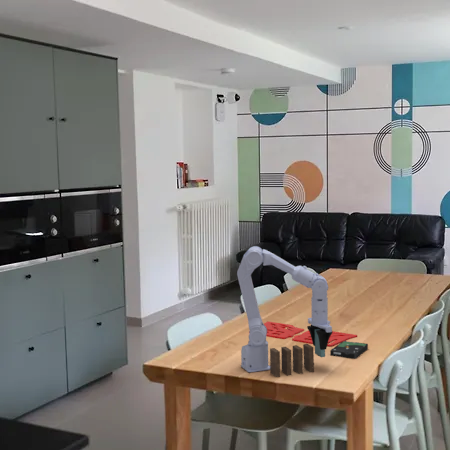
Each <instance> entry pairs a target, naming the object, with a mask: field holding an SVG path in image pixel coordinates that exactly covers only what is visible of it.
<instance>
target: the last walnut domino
mask: <svg viewBox="0 0 450 450" xmlns="http://www.w3.org/2000/svg"><path fill="white" fill-rule="evenodd" d="M280 353H281V350H278V349H277V348H275V347H272V348H271V347H270V348H269V358H270V359H269V363H270V364H269V366H270V370H269V371H270V375H272V376H273V377H275V378H279V377H281V354H280Z"/></svg>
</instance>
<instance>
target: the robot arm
mask: <svg viewBox="0 0 450 450" xmlns="http://www.w3.org/2000/svg"><path fill="white" fill-rule="evenodd" d="M261 265H263V266H274V267H275V268H277V269H279V270H281V271H282V272H285V273H287V274H289V275H290V276H291V279H292V280H293V281H295V282H296V283H299V284H300V285H302V287H303V286H304V287H305V288H307V289H310V290H311V300H310V301H311V317H307V324H309V325H308V326H307V327H306V328H307V331H309V332H310V335H311V338H312V342H313V344H312V345H313V347H315V329H320V330H316V332H317V335H318V338H319V345H320V349H321V350H324V349H325V350H327V344H328V341H329V338H330V336H331V334H332V331H333V326H332V325H330V324H331V320H329V319H328V318H329V317H328V310H329V307H328V302H329V301H328V299H329V298H328V291H329V285H328V281H327V279H326V278H325V277H324V276H323V275H321V274H319V273H318V272H313V271H311V270H309V269H308V267H307V266H306V265H303V266H302V265H297V266H295V265H294V264H291V263H289V262H288V261H286V260H285V259H283V258H281V257H280V256H278V255H277V254H275V253H272V252H271V251H268V249H264V248H263V249H262V248H261V247H260V246H257V245H254V246H251V247H249V249H247V250H246V252H245V253H244V254H243V256H242V259H241V261H240V264H239V266H238V269H237V273H236V276H237V279H238V284H239V287H240V292H241V297H242V301H243V306H244V308H245V309H244V310H245V314H246V317H247V322H248V331H250V333H249V332H248V333H249V334H248V341H247V344H246V345H242V346H241V349H240V353H241V355H240V356H241V359H240V360H241V361H240V362H241V364H240V367H241V368H242V369H243V370H245V371H246V372H248V373H255V372H263V371H270V364H269V342H268V341H267V336H266V335H267V328H266V326H265V325H264V321H263V318H262V316H261V313H260V308H259V305H258V304H259V303H258V300H257V296H256V292H255V287H254V284H253V279H252V274H253V272H254V271H255V270H256V269H257V268H258V267H260V266H261Z"/></svg>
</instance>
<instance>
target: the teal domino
mask: <svg viewBox="0 0 450 450" xmlns="http://www.w3.org/2000/svg"><path fill="white" fill-rule="evenodd" d="M316 330H320V329H315V346H314V355H316V356H319V357H320V358H325V357H326V349H324V350H321V349H320V345H319V338H318V335H317V332H316Z"/></svg>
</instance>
